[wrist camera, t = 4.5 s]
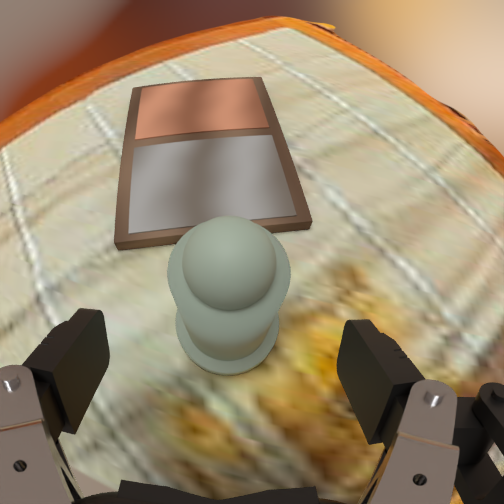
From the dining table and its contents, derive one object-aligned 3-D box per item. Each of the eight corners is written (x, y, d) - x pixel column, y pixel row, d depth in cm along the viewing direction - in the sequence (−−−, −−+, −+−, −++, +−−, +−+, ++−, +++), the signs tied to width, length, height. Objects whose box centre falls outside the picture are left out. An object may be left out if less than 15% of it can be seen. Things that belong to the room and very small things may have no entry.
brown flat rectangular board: (260, 84, 31) (261, 76, 30) (309, 229, 22) (312, 220, 21) (134, 95, 29) (132, 87, 28) (118, 250, 20) (113, 242, 19)
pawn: (265, 278, 20) (296, 164, 11) (283, 367, 18) (343, 313, 9) (175, 289, 19) (139, 178, 11) (185, 381, 17) (141, 341, 8)
